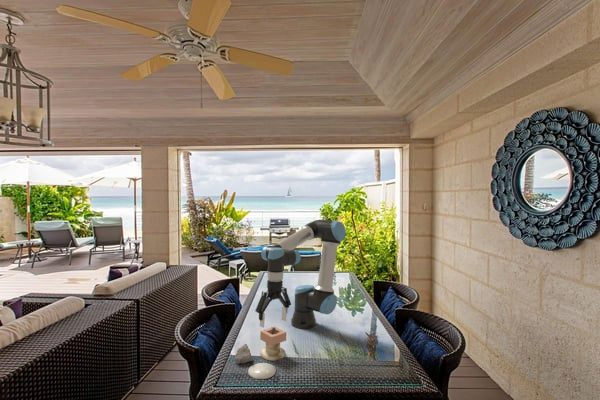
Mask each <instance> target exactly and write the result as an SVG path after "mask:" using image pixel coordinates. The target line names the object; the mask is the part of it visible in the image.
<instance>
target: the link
mask: <svg viewBox="0 0 600 400" xmlns="http://www.w3.org/2000/svg"><path fill="white" fill-rule="evenodd" d="M272 327H273V326H271V327H268V328H266V329H262V330H260V333H259V334H260V338H259V339H260V340H261V341H262V342H265V344H266V343H268V344H269V345H271V346H272V345H275V344H278V343H280V344H281V343H282V342H286V341H287V331H286V330H283V329H281V328H279V327H277V326H274V327H275V334H273V335H272Z"/></svg>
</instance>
